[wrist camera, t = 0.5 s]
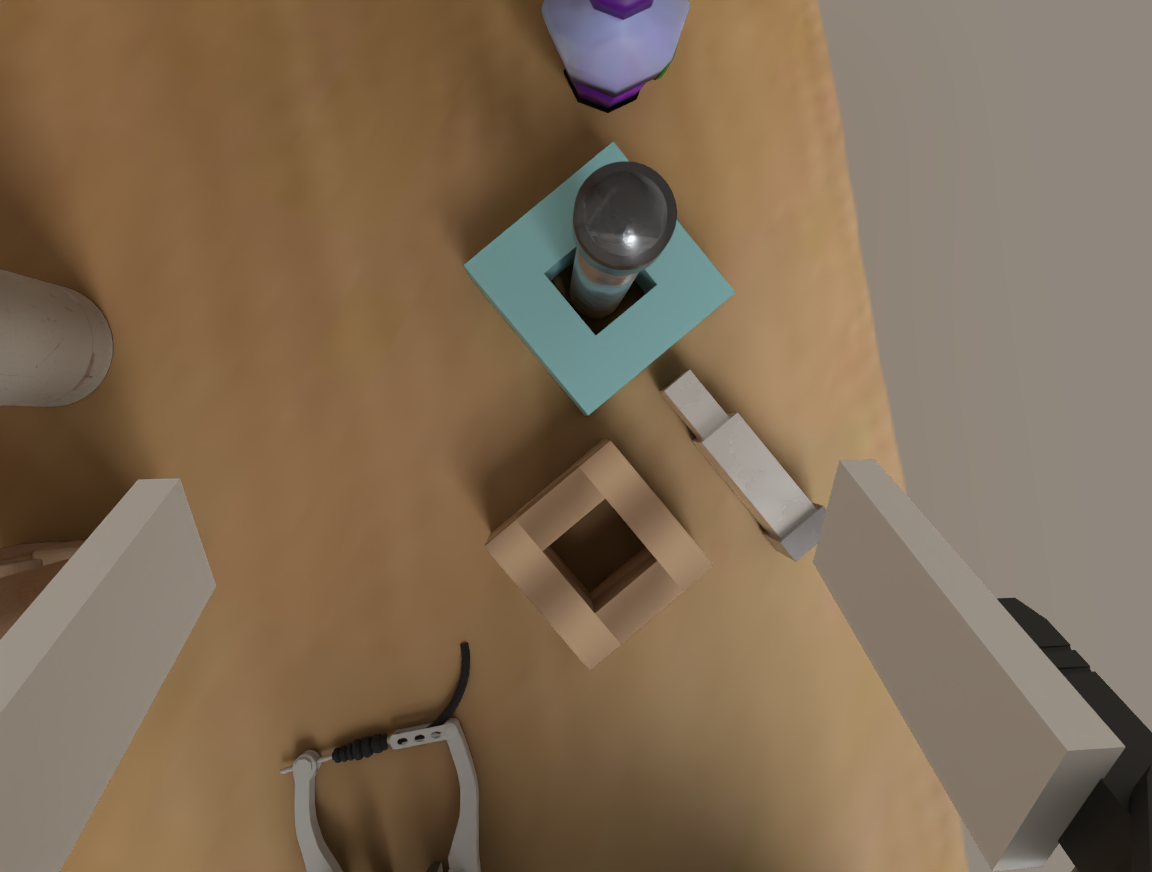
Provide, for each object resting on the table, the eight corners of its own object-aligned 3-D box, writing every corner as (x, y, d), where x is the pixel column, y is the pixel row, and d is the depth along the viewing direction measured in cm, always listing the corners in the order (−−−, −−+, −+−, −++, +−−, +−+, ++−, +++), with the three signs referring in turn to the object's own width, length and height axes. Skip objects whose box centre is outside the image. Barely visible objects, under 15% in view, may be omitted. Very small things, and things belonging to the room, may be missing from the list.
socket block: (719, 303, 46) (735, 292, 42) (584, 416, 45) (588, 415, 42) (607, 166, 45) (613, 141, 41) (470, 279, 45) (463, 265, 41)
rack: (696, 549, 46) (714, 565, 41) (585, 643, 46) (589, 670, 41) (603, 438, 46) (610, 440, 41) (490, 533, 45) (484, 546, 40)
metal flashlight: (641, 296, 46) (697, 221, 29) (592, 337, 45) (618, 286, 28) (600, 245, 45) (632, 140, 28) (550, 286, 45) (552, 205, 28)
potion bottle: (672, 132, 45) (717, 28, 33) (545, 137, 45) (545, 34, 33) (665, 3, 45) (708, -148, 33) (537, 8, 45) (534, -144, 33)
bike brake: (521, 934, 45) (473, 636, 48) (512, 1007, 39) (456, 655, 41) (322, 975, 45) (284, 672, 48) (277, 1055, 38) (236, 697, 41)
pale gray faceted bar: (816, 517, 46) (838, 525, 43) (776, 550, 46) (795, 561, 42) (691, 365, 46) (703, 360, 42) (651, 398, 45) (660, 396, 42)
